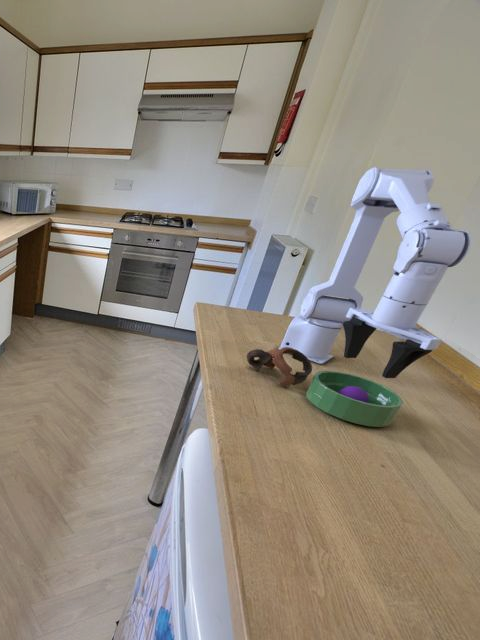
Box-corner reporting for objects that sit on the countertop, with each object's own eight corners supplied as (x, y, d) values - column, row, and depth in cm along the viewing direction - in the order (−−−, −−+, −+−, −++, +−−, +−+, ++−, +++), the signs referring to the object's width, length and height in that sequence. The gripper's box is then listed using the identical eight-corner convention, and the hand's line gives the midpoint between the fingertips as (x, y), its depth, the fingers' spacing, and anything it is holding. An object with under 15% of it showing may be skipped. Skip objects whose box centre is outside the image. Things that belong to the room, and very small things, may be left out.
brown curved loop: (282, 369, 97) (312, 351, 90) (288, 402, 92) (320, 385, 85) (234, 351, 98) (260, 331, 91) (236, 383, 92) (264, 365, 85)
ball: (327, 399, 83) (339, 381, 81) (347, 398, 84) (359, 381, 81) (346, 414, 79) (359, 396, 77) (367, 413, 80) (380, 395, 78)
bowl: (294, 402, 83) (304, 381, 81) (318, 385, 90) (328, 365, 88) (378, 438, 74) (392, 415, 71) (398, 415, 80) (411, 394, 78)
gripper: (473, 315, 66) (428, 386, 72) (383, 286, 79) (351, 349, 85) (435, 314, 65) (393, 387, 71) (350, 286, 78) (320, 349, 84)
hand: (368, 366), depth 78 cm, fingers open, 7 cm apart
